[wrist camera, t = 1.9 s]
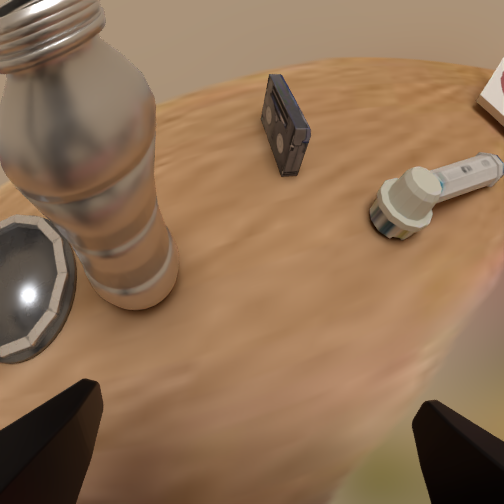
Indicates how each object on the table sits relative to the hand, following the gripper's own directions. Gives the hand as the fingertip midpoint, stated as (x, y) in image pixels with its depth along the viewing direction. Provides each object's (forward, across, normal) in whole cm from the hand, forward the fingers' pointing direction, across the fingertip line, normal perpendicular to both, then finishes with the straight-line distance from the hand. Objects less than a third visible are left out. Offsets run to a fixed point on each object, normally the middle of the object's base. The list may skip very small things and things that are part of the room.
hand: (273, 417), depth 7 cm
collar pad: (+14, +19, +6) cm, 24 cm away
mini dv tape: (+26, -2, -7) cm, 27 cm away
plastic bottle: (+16, +8, +4) cm, 18 cm away
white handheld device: (+25, -22, -6) cm, 34 cm away
